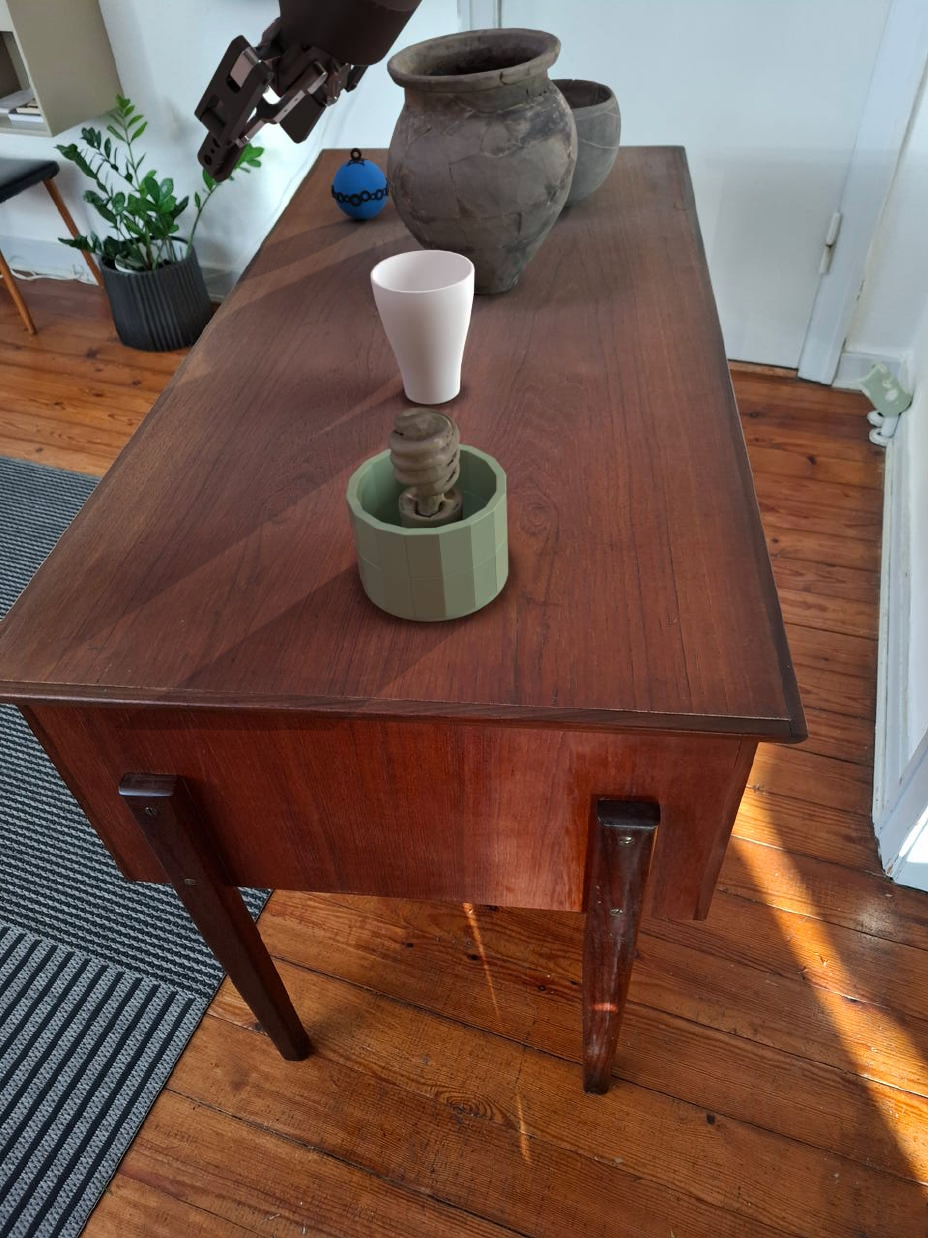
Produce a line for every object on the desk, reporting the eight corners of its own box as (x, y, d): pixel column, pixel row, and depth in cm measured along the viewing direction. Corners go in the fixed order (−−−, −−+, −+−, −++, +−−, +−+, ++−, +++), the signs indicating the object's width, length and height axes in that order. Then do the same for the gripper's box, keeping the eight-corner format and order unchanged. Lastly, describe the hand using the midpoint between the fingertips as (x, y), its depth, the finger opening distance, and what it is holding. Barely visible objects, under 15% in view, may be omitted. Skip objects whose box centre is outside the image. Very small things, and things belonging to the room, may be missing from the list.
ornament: (394, 207, 141) (387, 138, 134) (387, 227, 135) (379, 156, 128) (341, 208, 142) (331, 140, 135) (331, 229, 136) (321, 158, 129)
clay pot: (574, 292, 123) (568, 44, 114) (589, 277, 99) (582, -39, 90) (406, 303, 124) (388, 60, 116) (381, 291, 100) (356, -18, 92)
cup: (463, 421, 94) (455, 296, 85) (371, 409, 97) (353, 287, 87) (491, 372, 101) (487, 253, 92) (404, 363, 104) (392, 246, 94)
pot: (387, 639, 71) (373, 552, 65) (345, 548, 80) (329, 463, 73) (532, 595, 74) (531, 508, 68) (476, 512, 82) (471, 427, 76)
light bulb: (472, 585, 74) (462, 428, 64) (407, 593, 74) (387, 437, 64) (463, 543, 78) (452, 389, 68) (401, 551, 78) (381, 398, 68)
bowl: (604, 174, 147) (610, 70, 137) (629, 221, 132) (637, 107, 121) (478, 184, 147) (473, 80, 136) (488, 232, 132) (484, 119, 121)
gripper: (393, -133, 52) (277, 77, 64) (237, -102, 43) (137, 134, 56) (477, -20, 54) (348, 164, 66) (342, 32, 45) (222, 232, 57)
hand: (251, 150), depth 61 cm, fingers open, 8 cm apart
